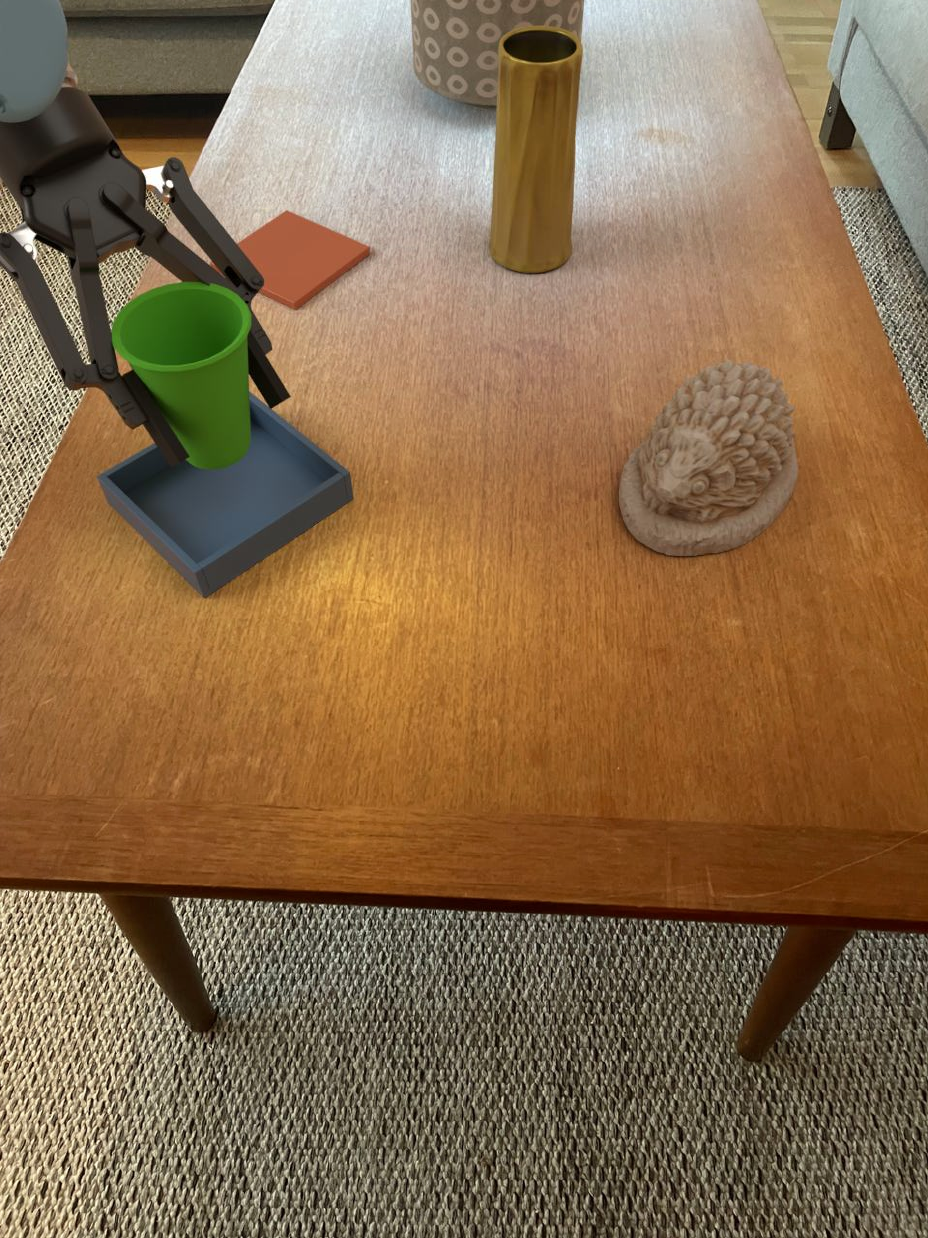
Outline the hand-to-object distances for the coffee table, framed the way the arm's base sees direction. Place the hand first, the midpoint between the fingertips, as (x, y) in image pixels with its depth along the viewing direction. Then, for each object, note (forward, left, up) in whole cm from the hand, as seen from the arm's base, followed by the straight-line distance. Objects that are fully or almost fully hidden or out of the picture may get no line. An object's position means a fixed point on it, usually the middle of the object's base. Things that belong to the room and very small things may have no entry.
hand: (231, 431), depth 68 cm
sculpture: (+28, -22, -10) cm, 37 cm away
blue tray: (0, +3, -10) cm, 10 cm away
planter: (+61, +35, -10) cm, 71 cm away
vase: (+41, +10, -10) cm, 43 cm away
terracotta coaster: (+23, +25, -10) cm, 36 cm away
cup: (0, +3, -4) cm, 5 cm away
